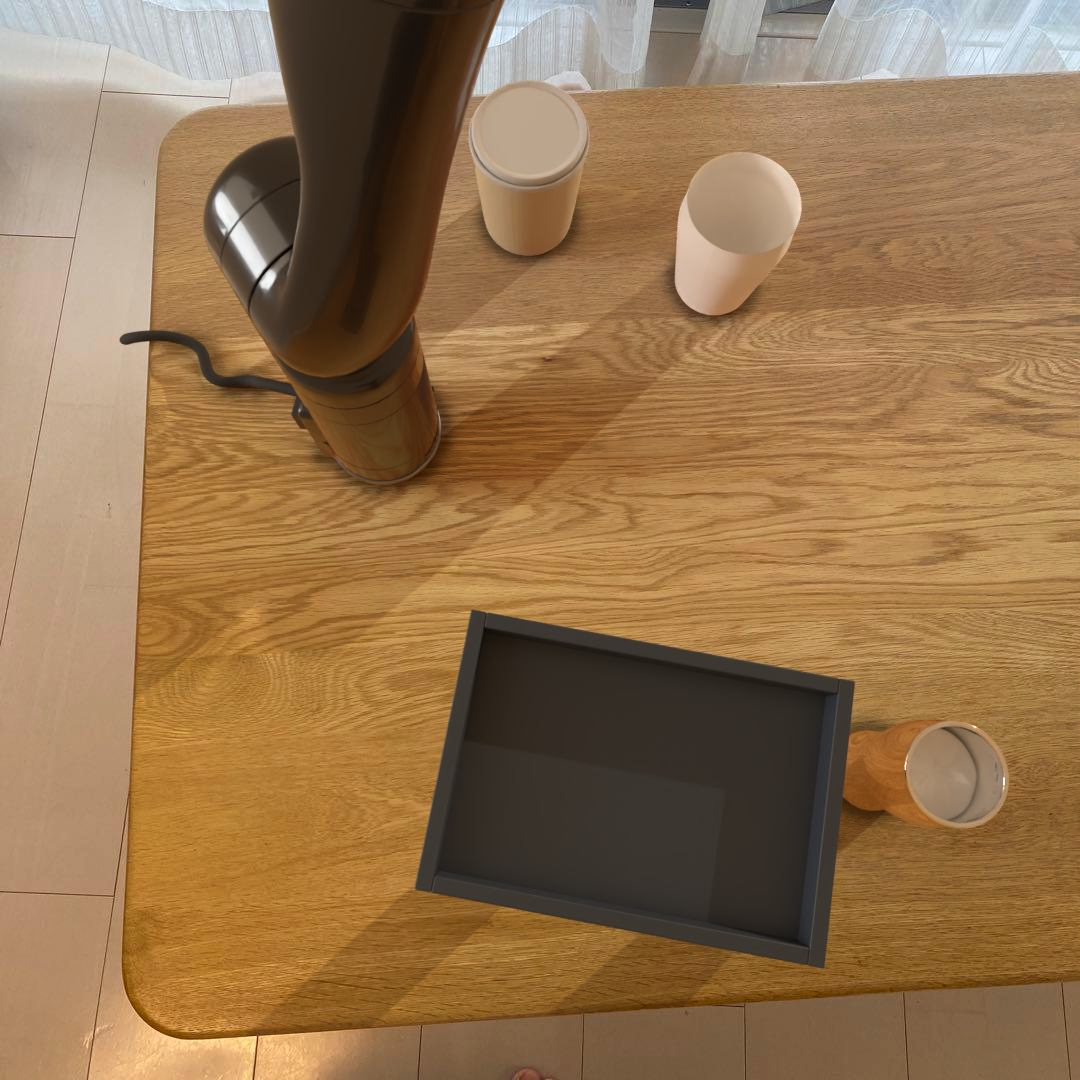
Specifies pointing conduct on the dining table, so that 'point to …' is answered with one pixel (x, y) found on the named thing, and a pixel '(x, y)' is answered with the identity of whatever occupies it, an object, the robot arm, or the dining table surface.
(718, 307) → the cup
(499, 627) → the tray
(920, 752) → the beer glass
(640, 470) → the dining table surface
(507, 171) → the coffee cup
